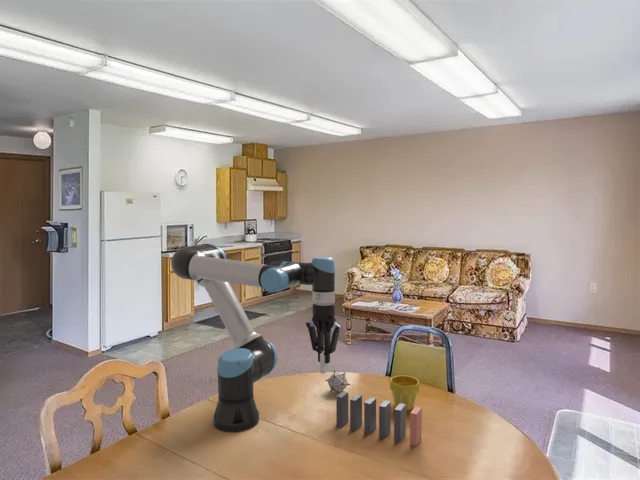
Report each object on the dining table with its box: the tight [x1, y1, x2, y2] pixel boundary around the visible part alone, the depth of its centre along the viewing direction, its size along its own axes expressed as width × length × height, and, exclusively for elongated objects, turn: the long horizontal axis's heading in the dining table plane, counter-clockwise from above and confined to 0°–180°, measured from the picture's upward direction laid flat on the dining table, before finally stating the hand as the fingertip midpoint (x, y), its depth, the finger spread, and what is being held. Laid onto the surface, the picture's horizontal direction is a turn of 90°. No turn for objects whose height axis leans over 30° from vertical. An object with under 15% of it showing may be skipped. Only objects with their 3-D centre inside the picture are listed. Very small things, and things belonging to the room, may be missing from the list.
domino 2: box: [349, 393, 363, 432], centre depth 149 cm, size 2×5×10 cm, turn 151°
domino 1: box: [335, 390, 350, 428], centre depth 152 cm, size 2×5×10 cm, turn 151°
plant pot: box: [389, 374, 420, 412], centre depth 164 cm, size 10×10×10 cm
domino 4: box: [378, 399, 392, 439], centre depth 144 cm, size 2×5×10 cm, turn 151°
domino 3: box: [363, 396, 377, 435], centre depth 147 cm, size 2×5×10 cm, turn 151°
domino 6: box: [409, 405, 423, 447], centre depth 139 cm, size 2×5×10 cm, turn 151°
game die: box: [325, 370, 351, 394], centre depth 177 cm, size 9×8×10 cm
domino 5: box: [393, 403, 407, 443], centre depth 142 cm, size 2×5×10 cm, turn 151°
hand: (324, 371), depth 154 cm, fingers closed
